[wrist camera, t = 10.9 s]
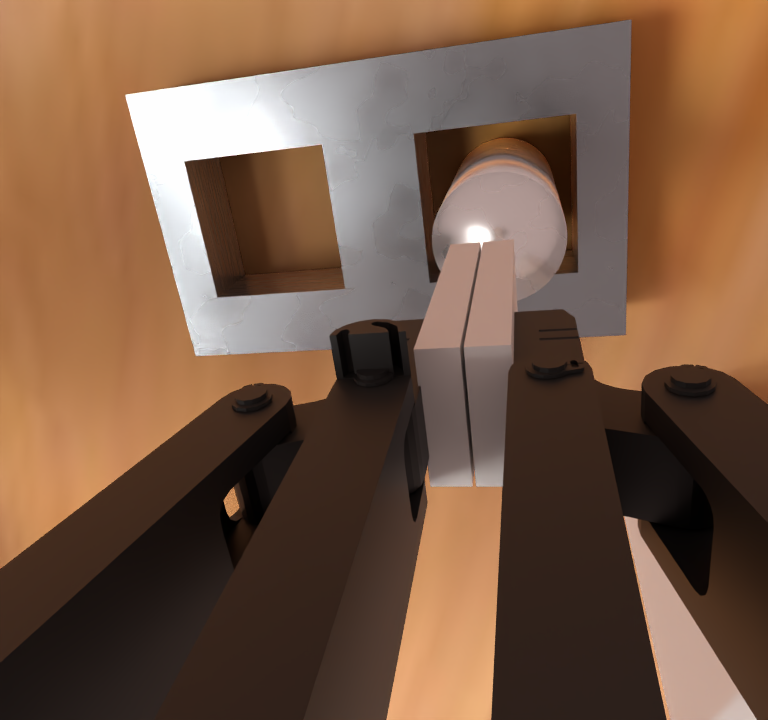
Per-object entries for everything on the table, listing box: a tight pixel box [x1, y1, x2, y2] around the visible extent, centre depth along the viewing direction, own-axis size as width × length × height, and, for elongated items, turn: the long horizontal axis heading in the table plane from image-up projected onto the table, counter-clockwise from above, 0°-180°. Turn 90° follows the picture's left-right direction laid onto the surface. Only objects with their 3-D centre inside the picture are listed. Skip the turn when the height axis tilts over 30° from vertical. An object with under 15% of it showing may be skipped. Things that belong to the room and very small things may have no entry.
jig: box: [125, 20, 631, 356], centre depth 29 cm, size 20×12×4 cm, turn 98°
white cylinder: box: [432, 138, 567, 301], centre depth 26 cm, size 4×4×9 cm
